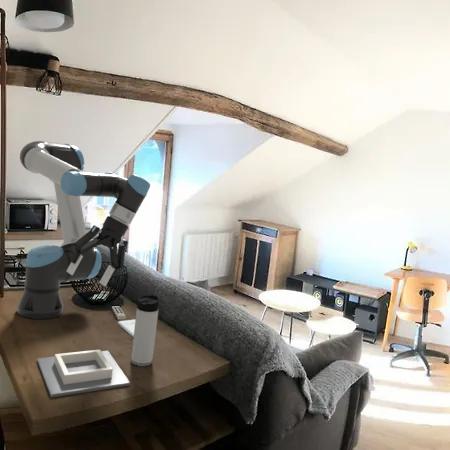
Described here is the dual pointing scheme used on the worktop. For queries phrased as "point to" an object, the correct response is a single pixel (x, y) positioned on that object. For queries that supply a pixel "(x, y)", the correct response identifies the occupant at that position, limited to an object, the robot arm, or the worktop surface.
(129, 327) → the external hard drive
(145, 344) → the travel mug
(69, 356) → the dock
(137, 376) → the worktop surface
